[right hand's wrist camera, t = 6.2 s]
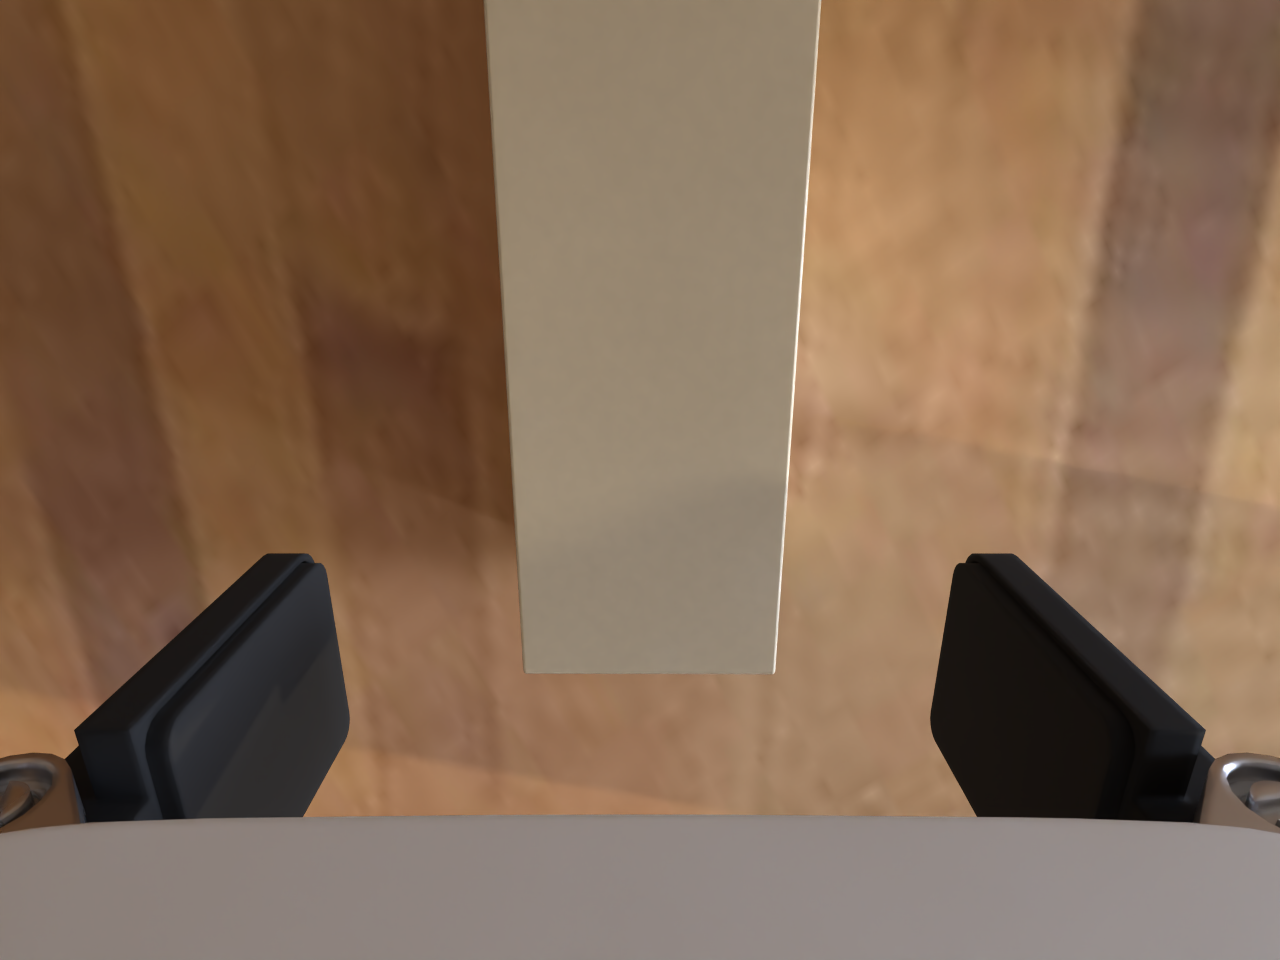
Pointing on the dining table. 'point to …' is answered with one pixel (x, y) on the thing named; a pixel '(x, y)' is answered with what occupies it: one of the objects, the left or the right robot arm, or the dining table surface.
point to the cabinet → (650, 320)
